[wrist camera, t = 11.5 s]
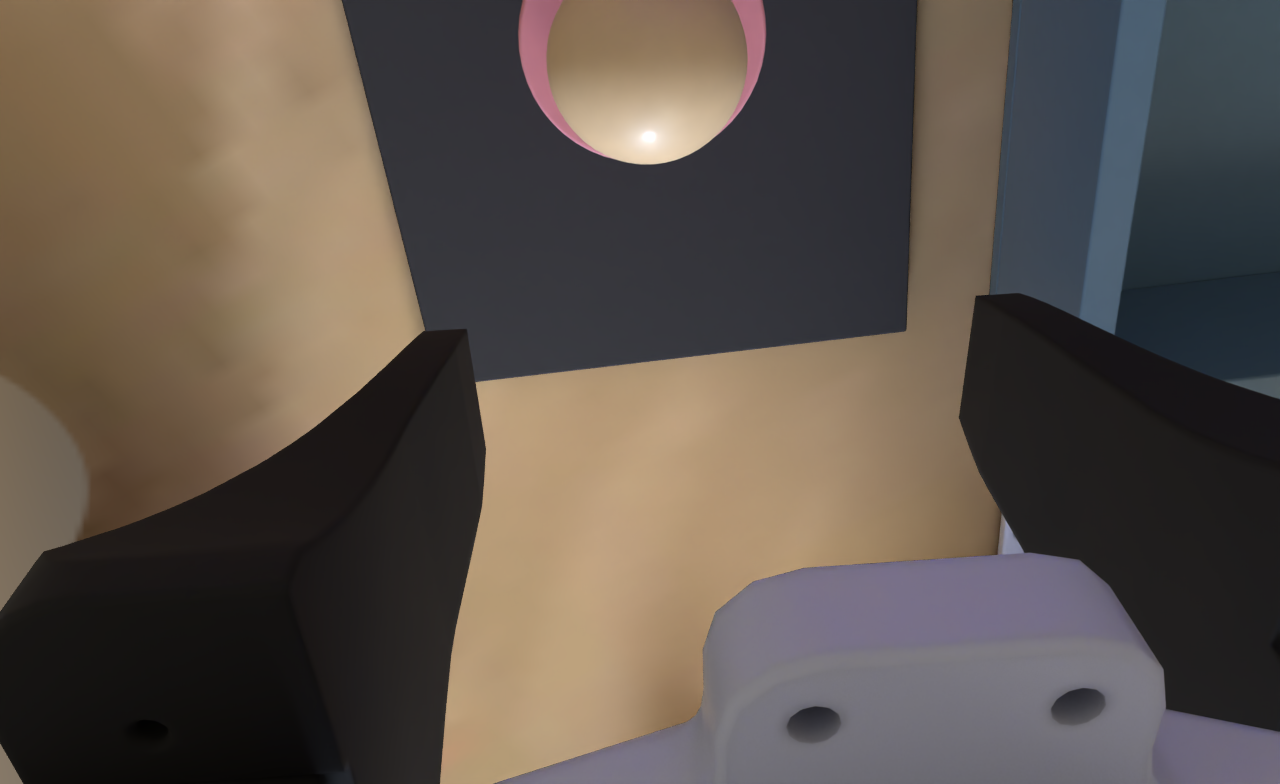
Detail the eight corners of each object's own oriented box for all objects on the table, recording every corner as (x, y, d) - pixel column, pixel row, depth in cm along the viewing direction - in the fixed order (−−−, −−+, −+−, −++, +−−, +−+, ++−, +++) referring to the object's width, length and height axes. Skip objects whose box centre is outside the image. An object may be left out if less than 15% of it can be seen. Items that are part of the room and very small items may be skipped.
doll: (739, 61, 22) (812, 196, 15) (558, 97, 22) (544, 248, 15) (711, -145, 20) (780, -103, 13) (512, -101, 20) (470, -37, 13)
